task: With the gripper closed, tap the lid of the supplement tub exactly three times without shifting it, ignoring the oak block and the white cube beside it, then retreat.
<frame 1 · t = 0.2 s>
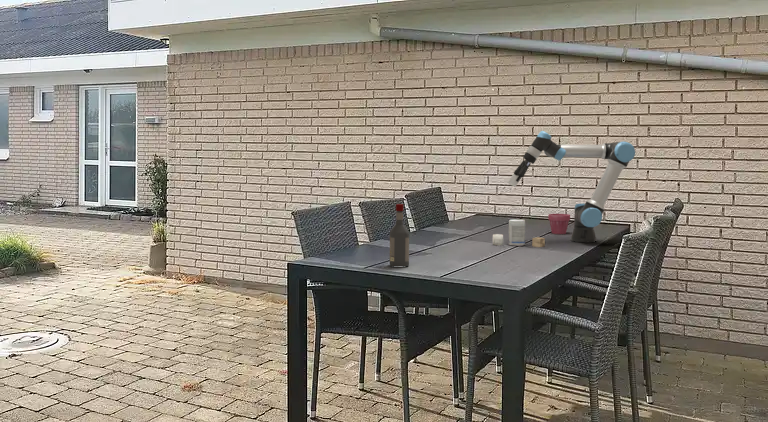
hand: (511, 185, 424), 35 cm above the table, tool tilted 35°, fingers open, 13 cm apart
supplement tub: (516, 245, 420), on the table
plant pot: (558, 233, 474), on the table
oak block: (538, 246, 415), on the table
white cube: (497, 244, 420), on the table
liquor: (399, 266, 347), on the table
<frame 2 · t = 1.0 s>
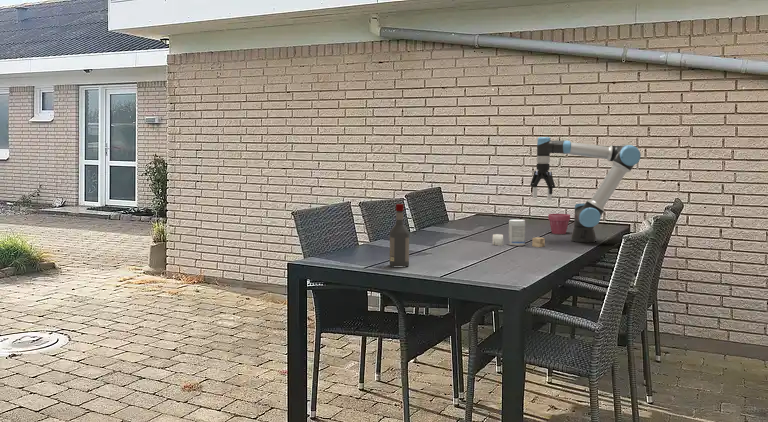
hand: (542, 198, 426), 27 cm above the table, tool pointing down, fingers open, 13 cm apart
nothing on the table moved.
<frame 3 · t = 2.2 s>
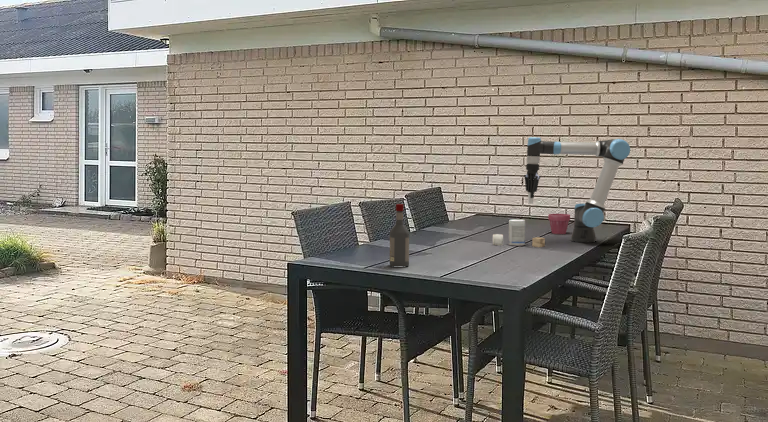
hand: (530, 203, 423), 24 cm above the table, tool pointing down, fingers closed
nothing on the table moved.
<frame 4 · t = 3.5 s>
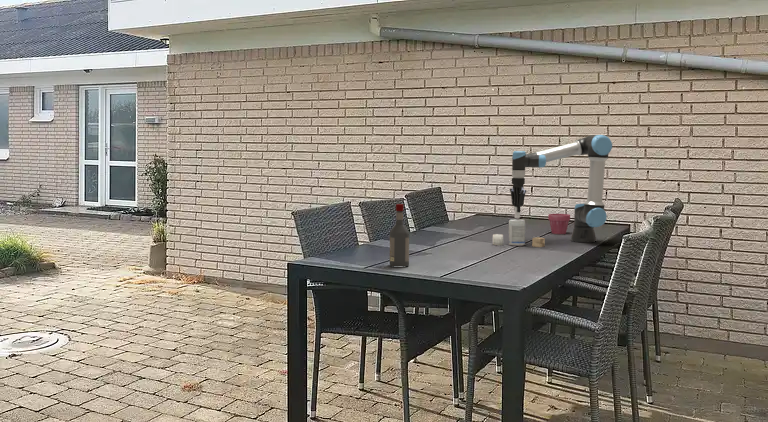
hand: (517, 217, 419), 16 cm above the table, tool pointing down, fingers closed
nothing on the table moved.
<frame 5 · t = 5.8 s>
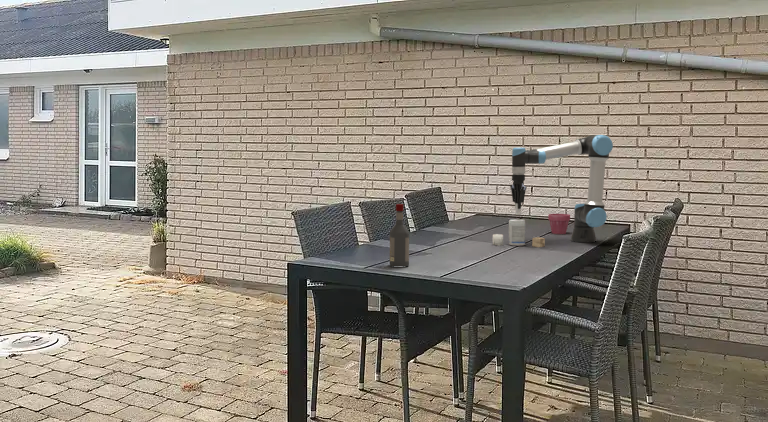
hand: (517, 214, 419), 18 cm above the table, tool pointing down, fingers closed
nothing on the table moved.
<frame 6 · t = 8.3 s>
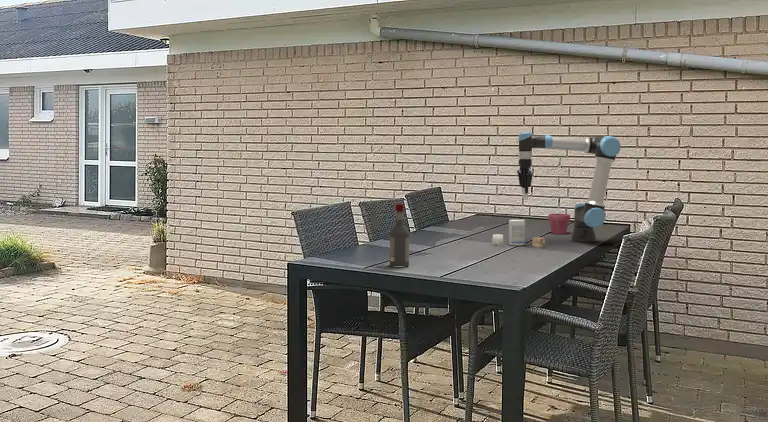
hand: (525, 198, 420), 27 cm above the table, tool pointing down, fingers closed
nothing on the table moved.
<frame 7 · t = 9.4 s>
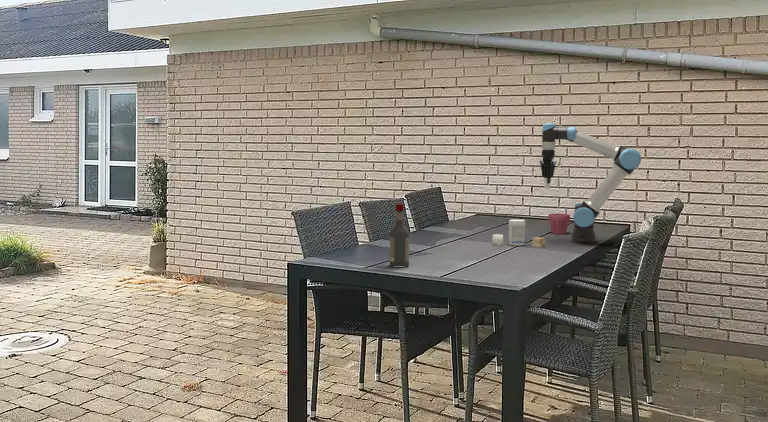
hand: (547, 188, 429), 32 cm above the table, tool pointing down, fingers closed
nothing on the table moved.
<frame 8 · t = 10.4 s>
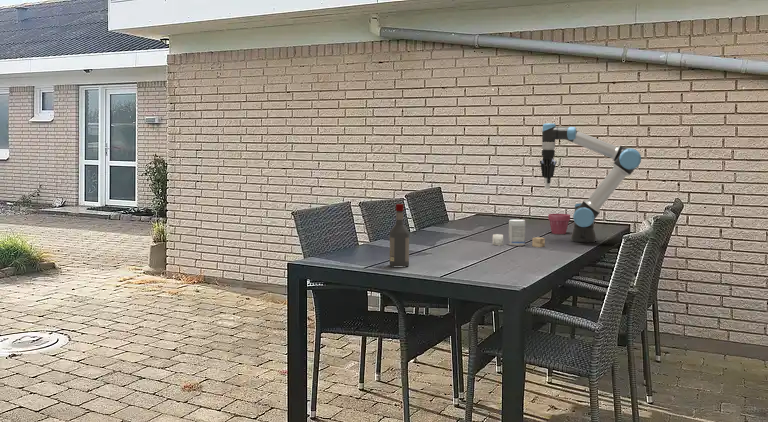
hand: (547, 188, 429), 32 cm above the table, tool pointing down, fingers closed
nothing on the table moved.
at the end: supplement tub moved 0.2 cm from its start; supplement tub tilted 0°; oak block moved 0.1 cm from its start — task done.
